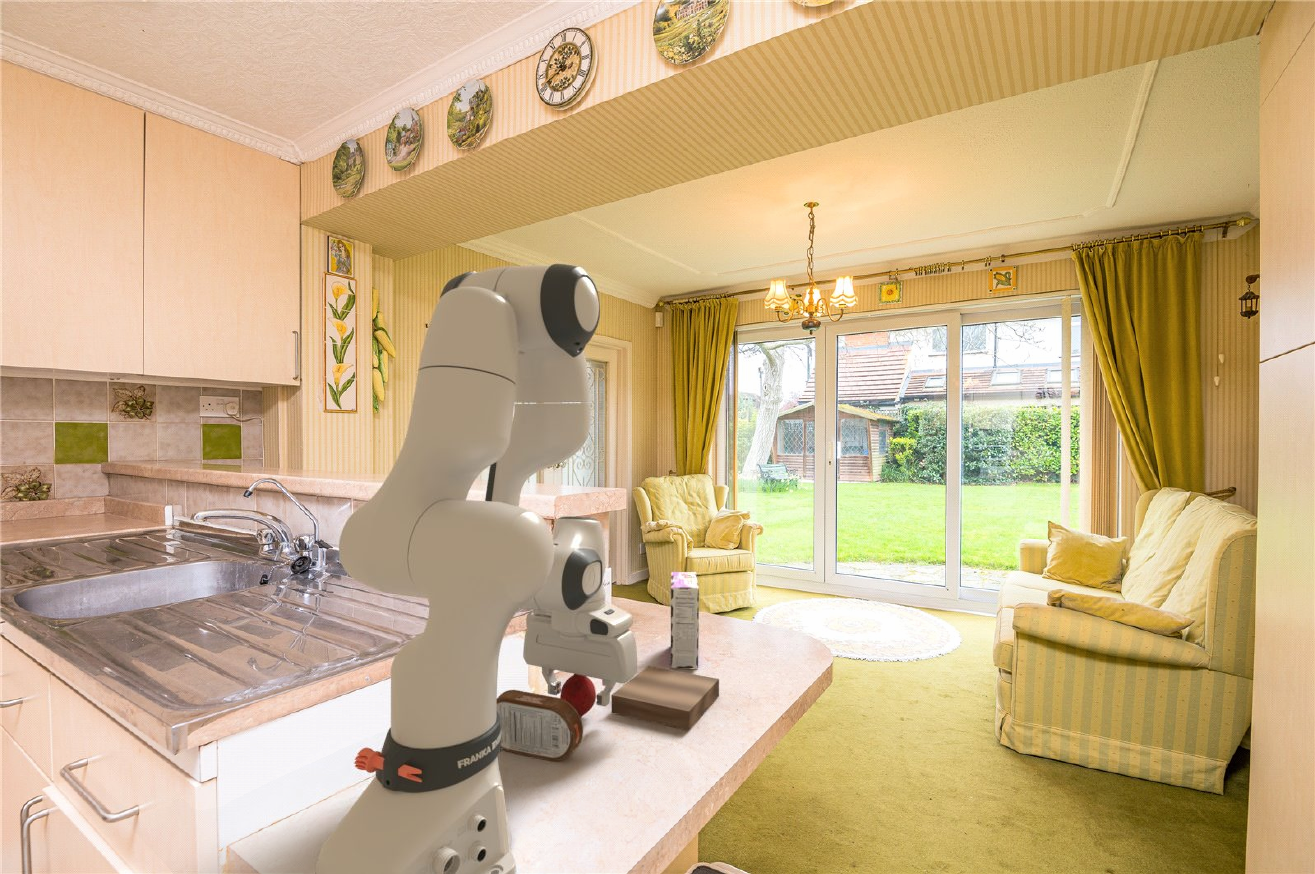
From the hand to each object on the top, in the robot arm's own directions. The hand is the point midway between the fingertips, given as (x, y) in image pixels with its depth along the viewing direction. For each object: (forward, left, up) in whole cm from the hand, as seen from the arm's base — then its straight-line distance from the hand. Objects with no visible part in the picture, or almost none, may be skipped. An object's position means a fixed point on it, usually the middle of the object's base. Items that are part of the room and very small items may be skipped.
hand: (578, 698), depth 97 cm
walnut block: (+11, -11, -3) cm, 16 cm away
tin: (-12, 0, -4) cm, 12 cm away
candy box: (+33, -5, -3) cm, 34 cm away
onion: (0, 0, -3) cm, 3 cm away
